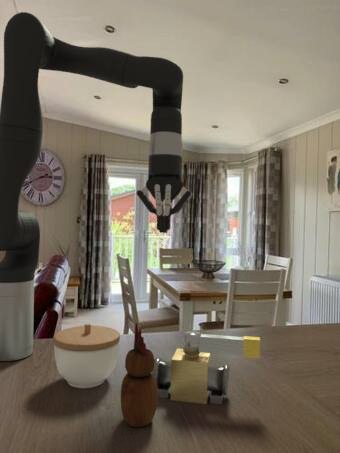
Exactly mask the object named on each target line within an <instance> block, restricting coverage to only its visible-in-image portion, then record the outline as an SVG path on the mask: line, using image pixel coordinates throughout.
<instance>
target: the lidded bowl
mask: <svg viewBox="0 0 340 453" xmlns="http://www.w3.org/2000/svg"><path fill="white" fill-rule="evenodd" d="M120 339H121V334H120V332H119V331H118V330H117V329H114V328H112V327H108V326H102V325H92V324H91V323H85V324H84V325H77V326H72V327H68V328H64V329H62V330H60V331H57V332H56V333H55V334H54V335H53V344H54V349H53V350H54V360H55V365H56V369H57V371H58V373H59V375H60V377H61V378H62V379H64V380H66V382H67V384H68V385H69V386H70V387H73V388H77V389H91V388H95V387H99V386H101V385H102V384H104V383H105V381H106V379H108V377H110V375H111V374H112V372H113V371H114V369H115V367H116V365H117V362H118V361H117V360H118V357H119V350H120Z"/></svg>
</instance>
